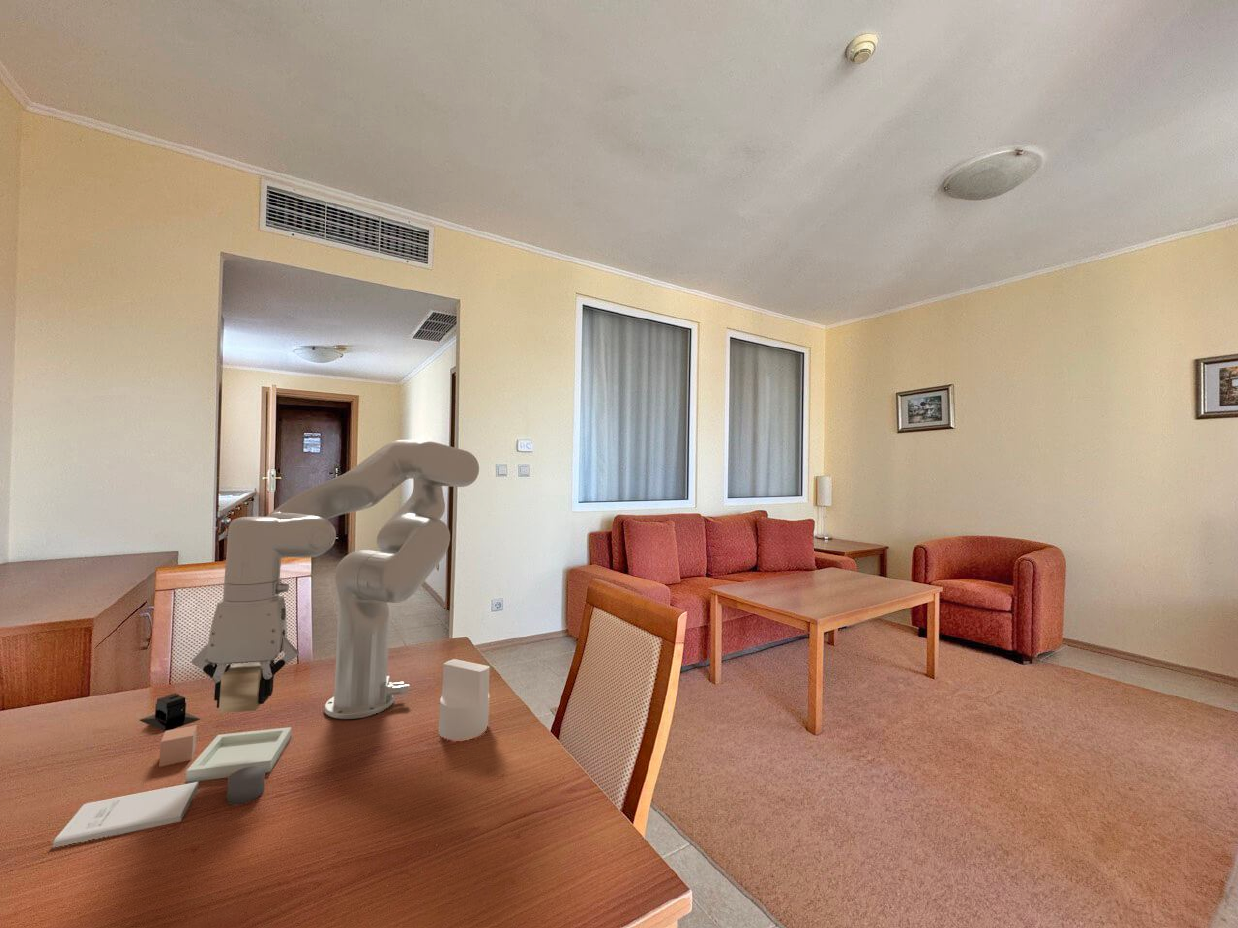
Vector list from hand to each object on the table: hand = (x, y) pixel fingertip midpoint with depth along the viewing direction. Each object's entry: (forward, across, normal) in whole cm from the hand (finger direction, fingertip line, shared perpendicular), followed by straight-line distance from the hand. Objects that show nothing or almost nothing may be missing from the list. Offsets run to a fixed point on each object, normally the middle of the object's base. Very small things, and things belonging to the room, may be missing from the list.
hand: (243, 701), depth 83 cm
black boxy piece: (+10, +17, -19) cm, 27 cm away
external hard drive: (+11, +8, +12) cm, 18 cm away
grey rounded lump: (+10, -4, +11) cm, 15 cm away
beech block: (+1, 0, 0) cm, 1 cm away
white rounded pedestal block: (+9, -35, -1) cm, 37 cm away
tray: (+9, 0, 0) cm, 9 cm away
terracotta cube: (+10, +10, -3) cm, 14 cm away
